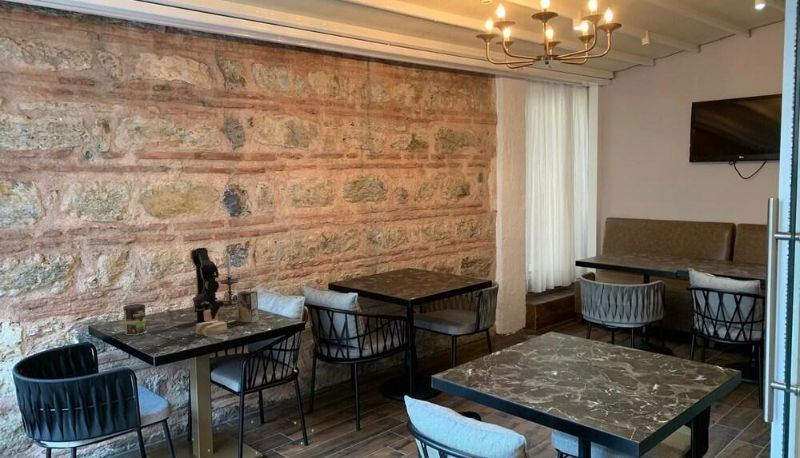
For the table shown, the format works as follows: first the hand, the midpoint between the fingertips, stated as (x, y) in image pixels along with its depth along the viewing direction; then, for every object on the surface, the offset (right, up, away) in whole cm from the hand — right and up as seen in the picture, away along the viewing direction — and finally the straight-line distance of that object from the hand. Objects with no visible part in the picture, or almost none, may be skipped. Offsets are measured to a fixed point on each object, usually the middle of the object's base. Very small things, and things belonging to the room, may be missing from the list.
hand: (210, 318), depth 296 cm
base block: (0, -8, +1) cm, 8 cm away
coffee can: (-39, -8, +2) cm, 40 cm away
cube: (0, -1, 0) cm, 1 cm away
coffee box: (+13, -5, +23) cm, 27 cm away
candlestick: (-9, -1, +64) cm, 65 cm away
